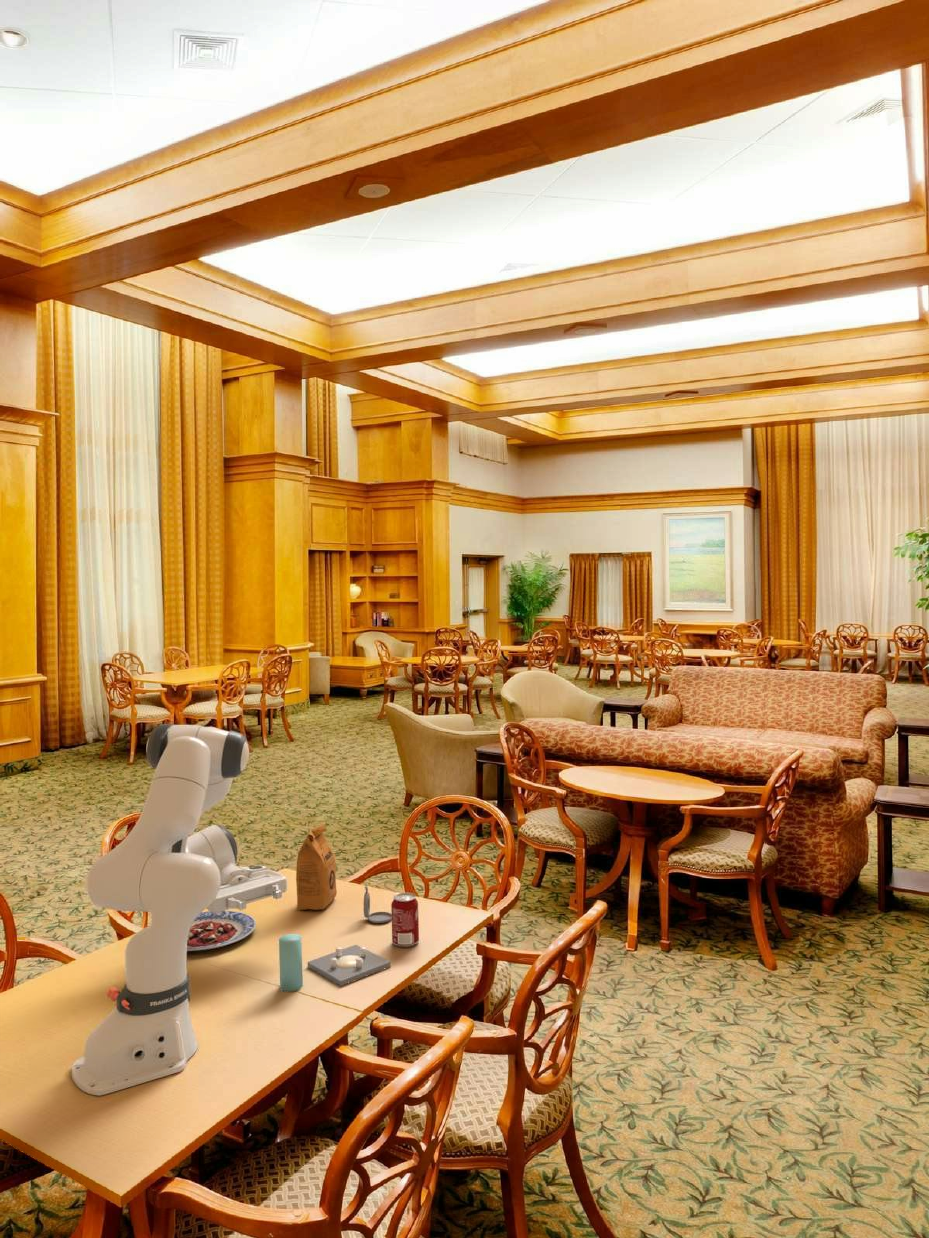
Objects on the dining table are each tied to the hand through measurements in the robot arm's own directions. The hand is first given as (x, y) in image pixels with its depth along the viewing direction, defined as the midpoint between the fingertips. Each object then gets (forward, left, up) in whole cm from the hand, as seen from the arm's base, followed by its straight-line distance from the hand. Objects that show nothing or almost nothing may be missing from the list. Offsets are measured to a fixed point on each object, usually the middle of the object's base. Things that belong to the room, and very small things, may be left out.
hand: (261, 900), depth 199 cm
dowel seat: (+15, -14, -16) cm, 26 cm away
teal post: (0, -13, -16) cm, 21 cm away
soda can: (+33, -13, -16) cm, 39 cm away
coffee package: (+32, +26, -16) cm, 44 cm away
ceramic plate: (-1, +28, -17) cm, 33 cm away
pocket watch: (+37, +5, -16) cm, 41 cm away
